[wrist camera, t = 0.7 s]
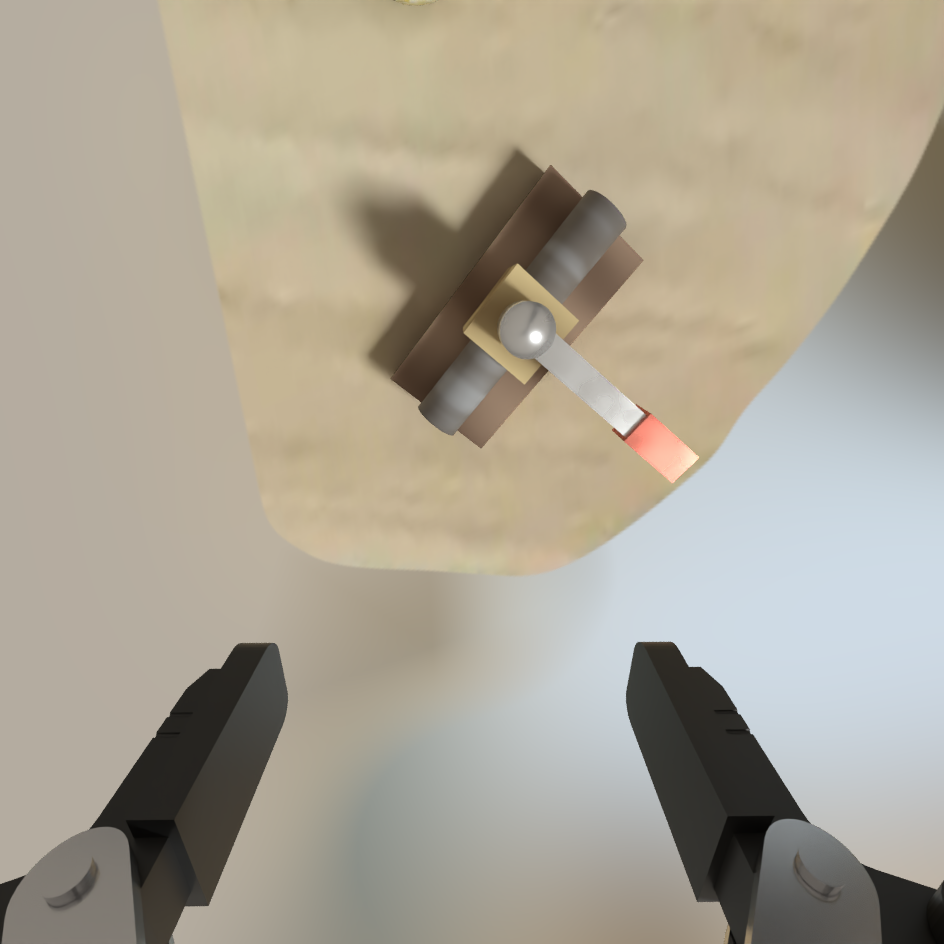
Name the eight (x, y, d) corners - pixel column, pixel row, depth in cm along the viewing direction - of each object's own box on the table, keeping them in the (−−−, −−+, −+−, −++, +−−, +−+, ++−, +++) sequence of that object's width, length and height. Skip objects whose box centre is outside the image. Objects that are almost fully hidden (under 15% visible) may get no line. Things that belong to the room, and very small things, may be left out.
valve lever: (486, 331, 25) (489, 335, 23) (520, 288, 24) (526, 288, 22) (651, 473, 28) (667, 488, 26) (685, 439, 28) (704, 452, 25)
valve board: (544, 172, 28) (570, 137, 22) (632, 262, 30) (679, 254, 24) (394, 373, 33) (378, 394, 26) (479, 440, 35) (484, 474, 28)
